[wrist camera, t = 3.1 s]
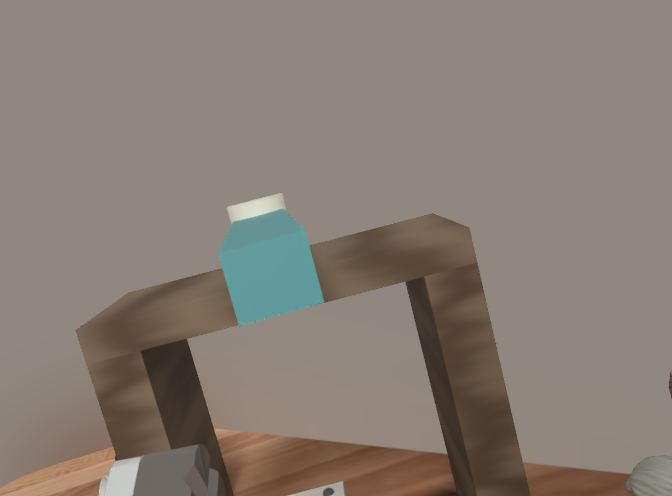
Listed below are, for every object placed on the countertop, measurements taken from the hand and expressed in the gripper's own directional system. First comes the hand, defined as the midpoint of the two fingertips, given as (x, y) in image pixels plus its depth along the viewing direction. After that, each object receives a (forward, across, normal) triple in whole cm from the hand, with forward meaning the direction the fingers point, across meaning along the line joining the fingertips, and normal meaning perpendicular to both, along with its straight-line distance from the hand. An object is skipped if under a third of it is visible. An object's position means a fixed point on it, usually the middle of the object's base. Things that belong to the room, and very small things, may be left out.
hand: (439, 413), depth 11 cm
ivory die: (+21, +9, +40) cm, 46 cm away
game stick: (+22, +6, +12) cm, 26 cm away
